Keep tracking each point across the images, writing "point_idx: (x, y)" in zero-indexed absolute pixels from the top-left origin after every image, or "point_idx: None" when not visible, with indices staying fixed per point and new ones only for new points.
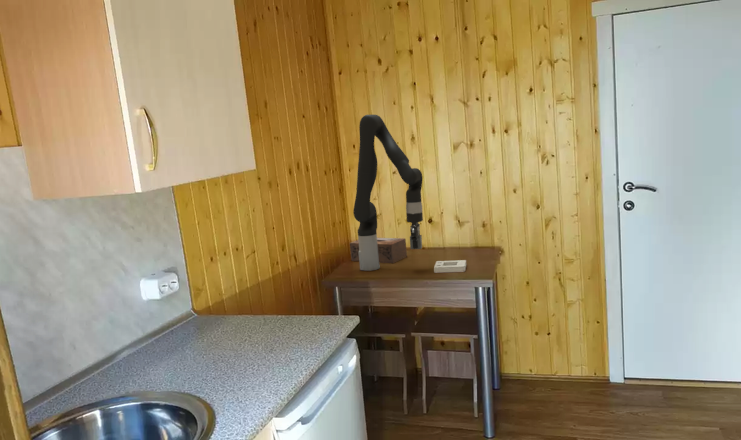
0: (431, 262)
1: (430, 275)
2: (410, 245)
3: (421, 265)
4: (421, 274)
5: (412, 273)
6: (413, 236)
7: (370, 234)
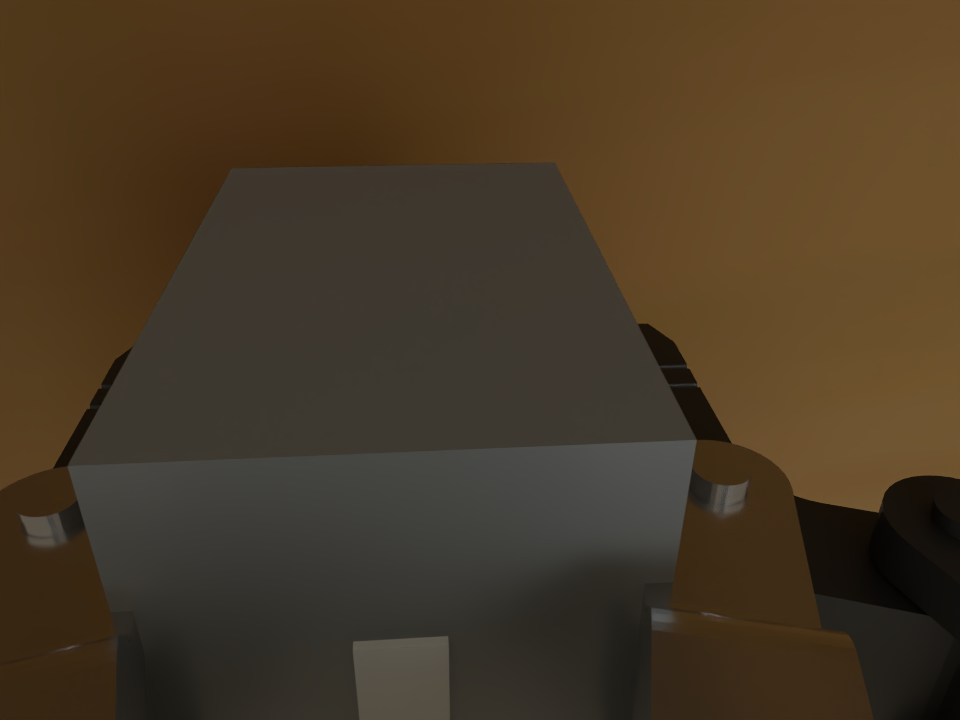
0: (904, 299)
1: (34, 409)
2: (204, 233)
3: (744, 155)
4: (83, 258)
5: (144, 72)
6: (177, 653)
7: None
